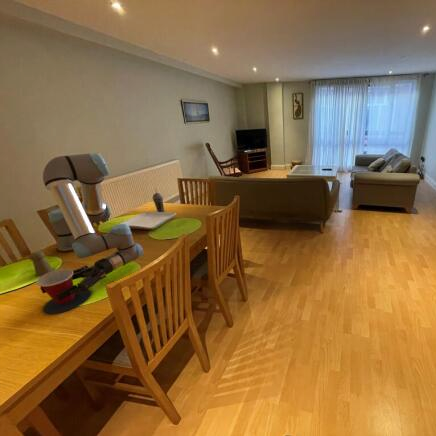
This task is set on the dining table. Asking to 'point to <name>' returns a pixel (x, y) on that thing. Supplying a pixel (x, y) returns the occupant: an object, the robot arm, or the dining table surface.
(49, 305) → the slate mat
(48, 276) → the plastic cup
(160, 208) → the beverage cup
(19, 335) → the dining table surface
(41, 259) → the pepper shaker
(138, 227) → the square plate
